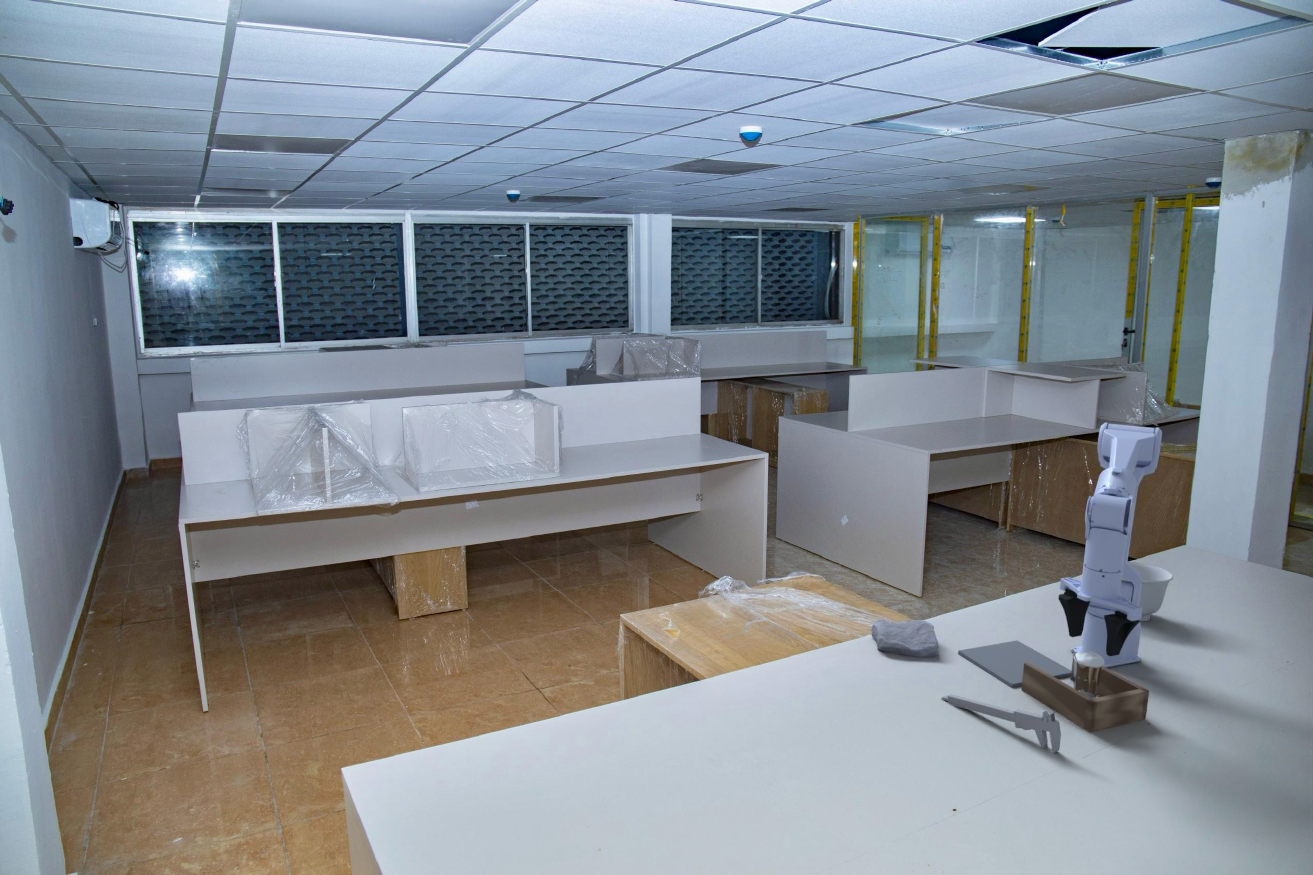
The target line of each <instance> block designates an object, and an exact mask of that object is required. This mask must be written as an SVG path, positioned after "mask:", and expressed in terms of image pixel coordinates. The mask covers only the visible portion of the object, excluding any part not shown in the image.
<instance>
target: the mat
mask: <svg viewBox="0 0 1313 875" xmlns="http://www.w3.org/2000/svg"><path fill="white" fill-rule="evenodd" d="M957 654H958V655H959V656H961V657H963V658H965V659H966V660H968V661H969V662H970V663H972V664H974V665H976V666H977V667H979V668H980V669H982V670H984V671H985V672H986V673H988V674H989V675H990V676H993V677H994V678H996V679H997V680H999V681H1001V682H1002V683H1004V684H1005V685H1007V686H1008V687H1010V688H1015V687H1022V678H1023V669H1024V663H1027V662H1029V663H1031V664H1033V665H1034V666H1036V667H1038V668H1040V669H1041V670H1043V671H1045V672H1047V673H1048V674H1050V675H1052V676H1053V677H1055V678H1057V679H1061V678H1066V677H1071V672H1072V669H1069V668H1067V667H1066V666H1064V665H1062V664H1060V663H1058V662H1057V661H1055V660H1053V659H1051V658H1049V657H1048V656H1046V655H1044V654H1043V653H1040V652H1039V651H1037V650H1035V649H1034V648H1031V647H1030V646H1028V645H1026V644H1024V643H1022V642H1021V641H1019V640H1012V641H1011V640H1010V641H1005V642H1000V643H994V644H990V645H989V644H988V645H983V646H977V647H972V648H967V649H961V650H960V649H959V650H958V652H957Z"/></svg>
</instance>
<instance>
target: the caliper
mask: <svg viewBox="0 0 1313 875" xmlns="http://www.w3.org/2000/svg"><path fill="white" fill-rule="evenodd" d="M941 700H943V701H947V703H948V704H950V705H953V706H955V707H958V708H961V709H965V710H968V711H972V712H976V713H980V714H983V715H986V716H990V717H994V718H997V719H1001V720H1004V721H1008V722H1012V723H1014V727H1015V728H1016V729H1022V730H1024V731H1030V730H1033V731H1034V732H1035V736H1036V737H1037V740H1038V743H1039V746H1040V747H1041V748H1042V749H1043V750H1045V749H1047V748H1049V746H1048V745H1049V744H1048V743H1049V742H1048V735H1047V734H1048V733H1047V732H1049V738H1050V744H1051V751H1052V754H1055V753H1058V751H1060V747H1061V737H1062V732H1061V724H1060V721H1059V720H1058V719H1056V716H1055V711H1054V712H1051V713H1049V712H1048V710H1045V711H1042V715H1041V714H1036V713H1034V712H1028V711H1026V710H1022V709H1021V710H1020V709H1015V710H1012V709H1008V708H1004V707H1000V706H997V705H993V704H990V703H985V702H982V701H979V700H975V699H970V698H967V697H964V696H960V695H955V694H952V693H951V694H949V695H944V696H942V697H941Z"/></svg>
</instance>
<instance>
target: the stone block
mask: <svg viewBox="0 0 1313 875" xmlns="http://www.w3.org/2000/svg"><path fill="white" fill-rule="evenodd" d="M934 628H935V626H934V625H933V624H932V623H930V622H928V621H926V620H922V619H914V620H913V619H911V620H909V619H907V620H903V621H899V622H894V621H887V620H886V619H878V620H876V621H875V622H874V623H873V624H872V626H871V637H872V639H873V640H874V642H875V643H876V648H877V650H878V651H882V652H888V653H892V654H900V655H904V656H911V657H919V658H930V657H931V658H932V657H937V656H939V644H938V638H937V635H936V632H935V629H934Z"/></svg>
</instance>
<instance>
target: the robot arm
mask: <svg viewBox="0 0 1313 875" xmlns="http://www.w3.org/2000/svg"><path fill="white" fill-rule="evenodd" d="M1162 437H1163V431H1162V430H1161V428H1160V427H1146V426H1138V425H1127V424H1126V425H1125V424H1116V423H1109V422H1104V423H1103V424H1102V425H1101V426H1100V427H1099V432H1098V438H1097V447H1096V448H1097V449H1096V450H1097V456H1098V462H1099V465H1100V467H1101V468H1103V469H1104V470H1102V471H1101V473H1100V474H1099V476H1098V480H1097V482H1096V483H1097V484H1096V487H1095V489H1094V493H1093V496H1092V495H1089V497H1088V499H1087V501H1086V502H1087V503H1086V507H1085V515H1084V521H1085V522H1084V523H1085V533H1084V538H1085V539H1086V540H1085V549H1084V557H1083V565H1082V566H1083V567H1082V574H1081V579H1080V580H1078V579H1075V578H1073V577H1070V576H1069V577H1062V578H1060V584H1059V589H1060V590H1061V591H1064V592H1063V593H1061V594H1058V598H1057V599H1058V601H1059V603H1060V604H1061V606H1062V608H1063V611H1064V616H1065V619H1066V623H1067V628H1068V634H1069V637H1071V638H1075V637H1082V640H1081V645H1080V646H1074V647H1071V648H1070V651H1071V652H1072V653H1073V650H1074V652H1075V653H1078V652H1079V651H1081V650H1086V651H1092V652H1094V653H1096V654H1099V655H1100V656H1101V657H1102V658H1103V659H1104V667H1105V668H1107V669H1108V668H1111V667H1115V666H1122V665H1126V664H1132V663H1137V662H1141V661H1142V658H1141V657H1139V656H1138V655H1139V649H1140V647H1139V646H1140V640H1141V632H1142V625H1141V621H1140V620H1141V617H1142V609H1143V608H1141V607H1139V603H1140V597H1141V582H1142V578H1141V575H1140V573H1139V572H1138V571H1137V570H1135V569H1134V568H1133V567H1132V566H1131V565H1130V564H1129V563H1128V562H1129V561H1128V560H1129V559H1128V558H1129V555H1130V554H1129V553H1130V547H1131V546H1130V545H1131V539H1132V531H1133V526H1134V519H1135V510H1136V504H1137V496H1138V489H1139V485H1140V484H1141V481H1142V480H1143V478H1144V476H1147V475H1151V474H1154V473H1156V472H1155V471H1156V469H1157V468H1158V465H1159V464H1158V462H1159V458H1160V453H1161V452H1160V451H1161V446H1162V439H1163V438H1162ZM1122 577H1123V578H1127V579H1129V580H1130V581H1131V582H1130V581H1124V580H1122ZM1072 649H1073V650H1072Z"/></svg>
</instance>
